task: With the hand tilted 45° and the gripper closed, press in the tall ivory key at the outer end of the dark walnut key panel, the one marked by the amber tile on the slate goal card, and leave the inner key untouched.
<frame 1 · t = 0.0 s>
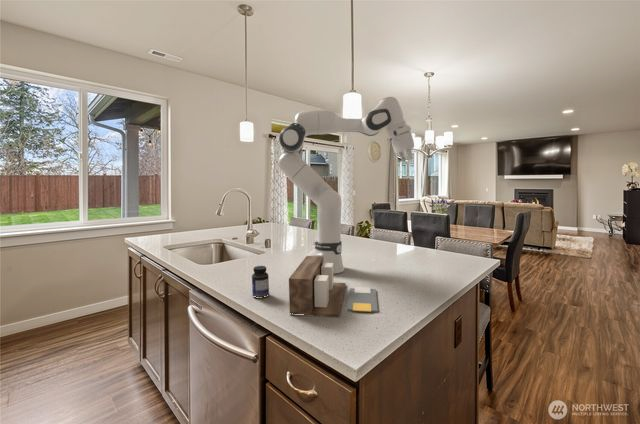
hand: (407, 160, 142), 52 cm above the worktop, tool tilted 20°, fingers open, 8 cm apart
outer key: (321, 290, 102), point 6 cm above the worktop, slide at 0.0 cm
goal card: (362, 299, 109), on the worktop
inner key: (327, 276, 118), point 6 cm above the worktop, slide at 0.0 cm
key panel: (318, 298, 111), on the worktop
pill bottle: (260, 296, 114), on the worktop
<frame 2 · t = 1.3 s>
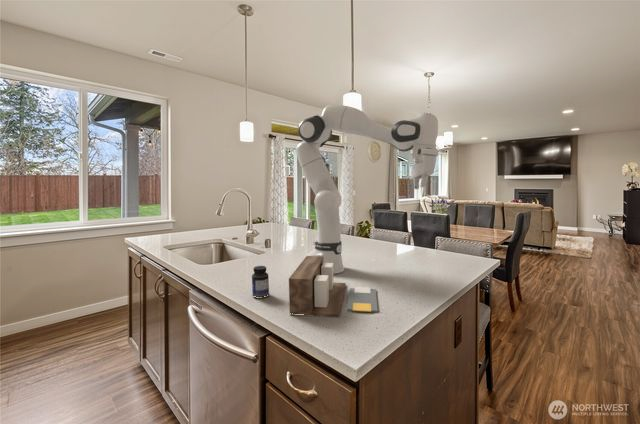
hand: (419, 188, 123), 39 cm above the worktop, tool pointing down, fingers open, 8 cm apart
nothing on the worktop moved.
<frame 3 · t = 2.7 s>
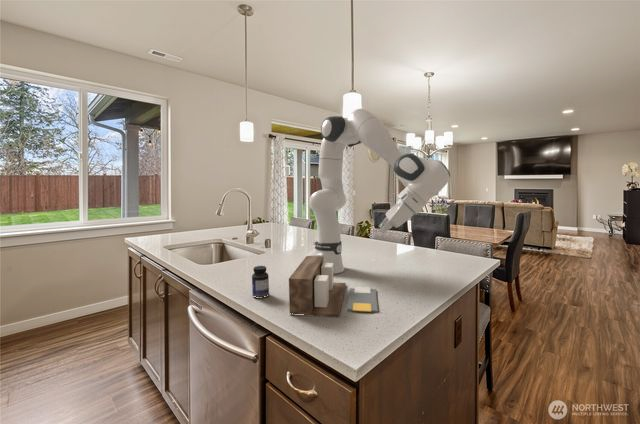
hand: (380, 230, 105), 25 cm above the worktop, tool tilted 45°, fingers open, 7 cm apart
nothing on the worktop moved.
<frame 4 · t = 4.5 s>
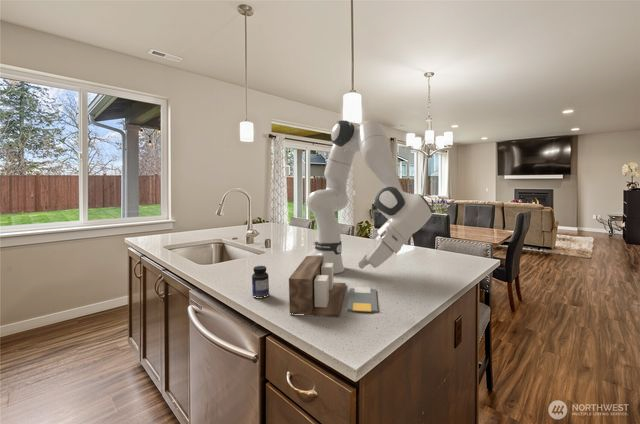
hand: (359, 266, 100), 15 cm above the worktop, tool tilted 45°, fingers closed
nothing on the worktop moved.
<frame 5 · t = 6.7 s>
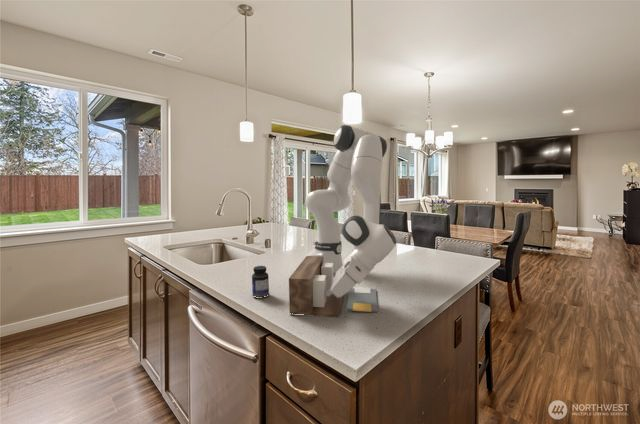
hand: (327, 293, 102), 5 cm above the worktop, tool tilted 45°, fingers closed, pressing on outer key
outer key: (319, 290, 103), point 6 cm above the worktop, slide at 0.9 cm, touching gripper
everything else where it was.
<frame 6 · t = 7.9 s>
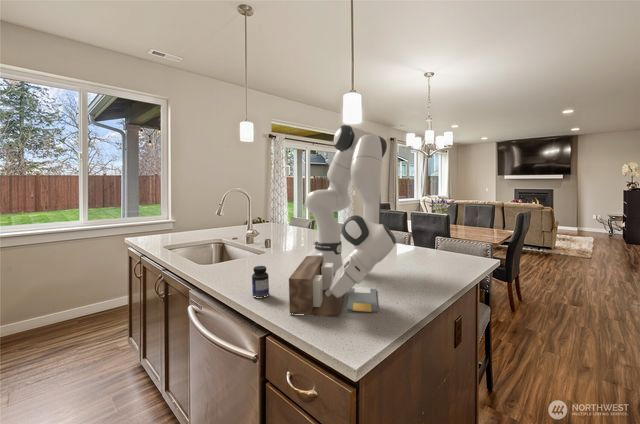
hand: (326, 293, 102), 5 cm above the worktop, tool tilted 45°, fingers closed
outer key: (315, 290, 103), point 6 cm above the worktop, slide at 2.2 cm
everything else where it was.
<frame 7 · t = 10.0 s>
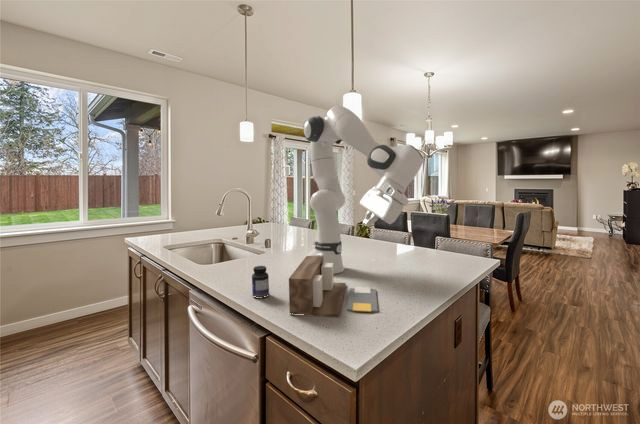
hand: (365, 225, 102), 28 cm above the worktop, tool tilted 35°, fingers closed
nothing on the worktop moved.
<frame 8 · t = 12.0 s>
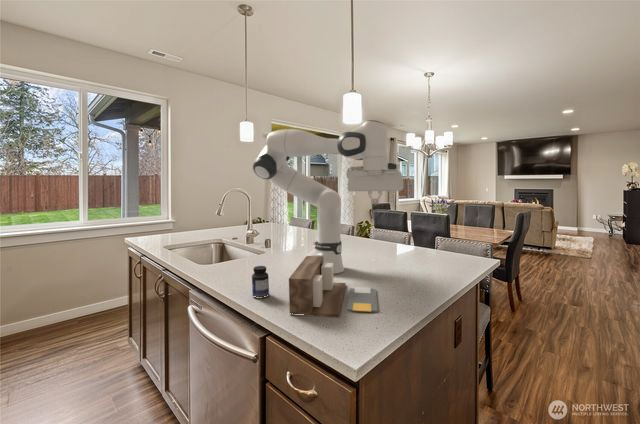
hand: (374, 203, 112), 34 cm above the worktop, tool pointing down, fingers closed
nothing on the worktop moved.
at the end: outer key slide at 2.2 cm; inner key slide at 0.0 cm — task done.
